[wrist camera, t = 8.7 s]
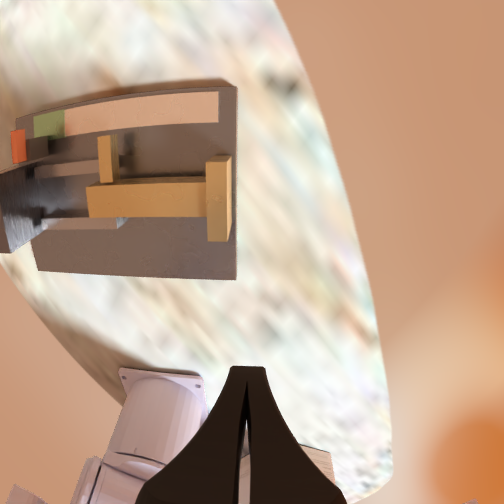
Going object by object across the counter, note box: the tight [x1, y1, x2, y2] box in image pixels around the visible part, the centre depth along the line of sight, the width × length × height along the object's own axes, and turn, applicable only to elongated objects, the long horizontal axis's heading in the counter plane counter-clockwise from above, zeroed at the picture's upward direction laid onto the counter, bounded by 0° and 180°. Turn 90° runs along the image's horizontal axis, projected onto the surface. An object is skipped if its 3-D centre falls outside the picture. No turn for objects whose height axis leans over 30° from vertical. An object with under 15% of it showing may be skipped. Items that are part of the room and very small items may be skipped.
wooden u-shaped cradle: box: [86, 134, 232, 242], centre depth 16 cm, size 6×8×3 cm
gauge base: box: [0, 87, 238, 280], centre depth 17 cm, size 12×16×5 cm
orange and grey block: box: [11, 129, 49, 164], centre depth 15 cm, size 2×1×3 cm, turn 179°
